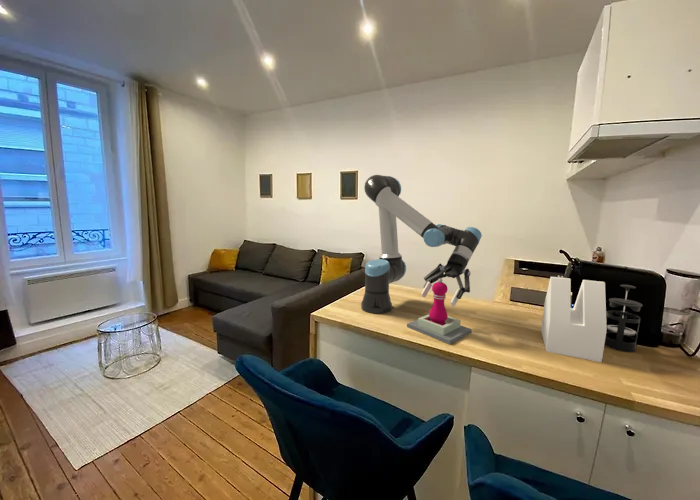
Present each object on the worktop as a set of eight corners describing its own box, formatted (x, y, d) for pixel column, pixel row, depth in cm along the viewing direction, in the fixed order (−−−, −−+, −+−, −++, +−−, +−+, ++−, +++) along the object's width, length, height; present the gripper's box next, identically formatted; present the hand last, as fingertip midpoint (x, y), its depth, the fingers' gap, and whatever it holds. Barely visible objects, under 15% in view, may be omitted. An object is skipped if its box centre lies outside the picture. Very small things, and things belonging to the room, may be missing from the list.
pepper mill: (426, 322, 126) (428, 276, 123) (442, 322, 127) (445, 276, 124) (432, 329, 119) (434, 281, 116) (449, 329, 120) (452, 280, 117)
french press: (635, 355, 103) (646, 291, 99) (600, 346, 110) (609, 285, 106) (636, 344, 111) (646, 284, 108) (603, 336, 118) (611, 279, 114)
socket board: (406, 326, 125) (407, 316, 125) (429, 317, 136) (430, 308, 135) (449, 344, 110) (450, 332, 110) (471, 332, 120) (472, 322, 120)
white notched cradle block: (601, 362, 99) (612, 289, 95) (546, 351, 106) (554, 283, 102) (588, 339, 116) (597, 276, 112) (541, 331, 123) (548, 271, 119)
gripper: (491, 269, 119) (469, 313, 112) (437, 259, 138) (415, 297, 131) (486, 257, 115) (462, 303, 108) (431, 249, 134) (408, 287, 127)
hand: (436, 300), depth 119 cm, fingers open, 13 cm apart
